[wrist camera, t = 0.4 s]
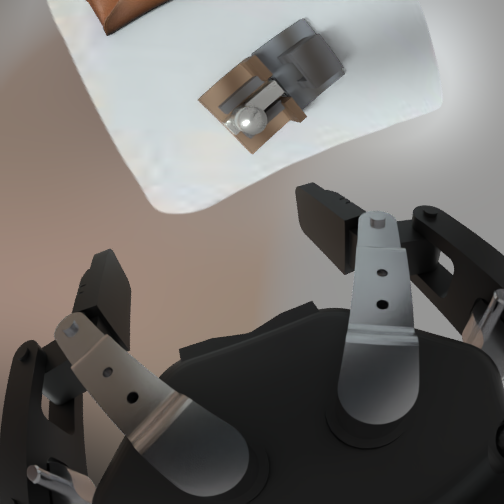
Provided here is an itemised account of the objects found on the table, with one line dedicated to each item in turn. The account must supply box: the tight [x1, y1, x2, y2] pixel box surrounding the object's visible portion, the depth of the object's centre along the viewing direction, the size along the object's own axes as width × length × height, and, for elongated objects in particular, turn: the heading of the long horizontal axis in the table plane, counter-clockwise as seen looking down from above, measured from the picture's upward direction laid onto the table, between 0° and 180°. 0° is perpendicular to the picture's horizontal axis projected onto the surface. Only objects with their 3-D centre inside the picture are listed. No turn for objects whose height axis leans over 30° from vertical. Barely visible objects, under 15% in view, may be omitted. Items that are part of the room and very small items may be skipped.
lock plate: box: [198, 19, 345, 154], centre depth 30 cm, size 18×10×5 cm, turn 132°
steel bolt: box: [222, 80, 284, 135], centre depth 29 cm, size 8×3×6 cm, turn 131°
